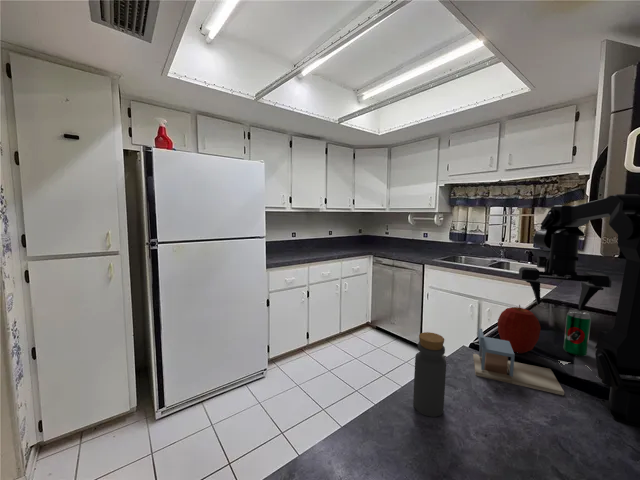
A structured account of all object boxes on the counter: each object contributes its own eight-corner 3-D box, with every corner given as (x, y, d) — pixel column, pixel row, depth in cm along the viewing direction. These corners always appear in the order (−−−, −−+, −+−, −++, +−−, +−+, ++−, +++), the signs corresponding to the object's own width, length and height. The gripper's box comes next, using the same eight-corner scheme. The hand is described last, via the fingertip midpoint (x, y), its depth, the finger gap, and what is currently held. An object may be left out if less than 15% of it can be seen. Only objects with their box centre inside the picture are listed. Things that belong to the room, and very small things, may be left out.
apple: (536, 364, 74) (541, 313, 73) (493, 351, 81) (496, 304, 79) (539, 349, 82) (543, 303, 81) (499, 339, 89) (502, 296, 87)
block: (506, 376, 68) (507, 356, 68) (485, 371, 70) (486, 352, 70) (503, 367, 72) (505, 348, 72) (483, 363, 74) (484, 345, 74)
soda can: (591, 358, 78) (596, 316, 77) (570, 356, 79) (574, 314, 78) (578, 349, 83) (583, 310, 81) (559, 347, 84) (563, 308, 82)
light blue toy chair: (512, 376, 66) (515, 344, 66) (478, 369, 69) (480, 338, 69) (507, 361, 73) (509, 332, 73) (476, 354, 76) (478, 327, 76)
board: (563, 396, 62) (564, 391, 61) (475, 375, 69) (475, 372, 69) (550, 372, 70) (550, 368, 70) (473, 357, 78) (473, 353, 78)
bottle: (407, 401, 59) (410, 333, 58) (429, 395, 61) (432, 329, 60) (426, 420, 54) (430, 345, 52) (450, 413, 56) (454, 341, 54)
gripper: (596, 250, 80) (591, 303, 81) (517, 246, 88) (513, 294, 90) (615, 255, 70) (608, 316, 71) (524, 250, 79) (520, 304, 80)
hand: (558, 306), depth 78 cm, fingers open, 9 cm apart
